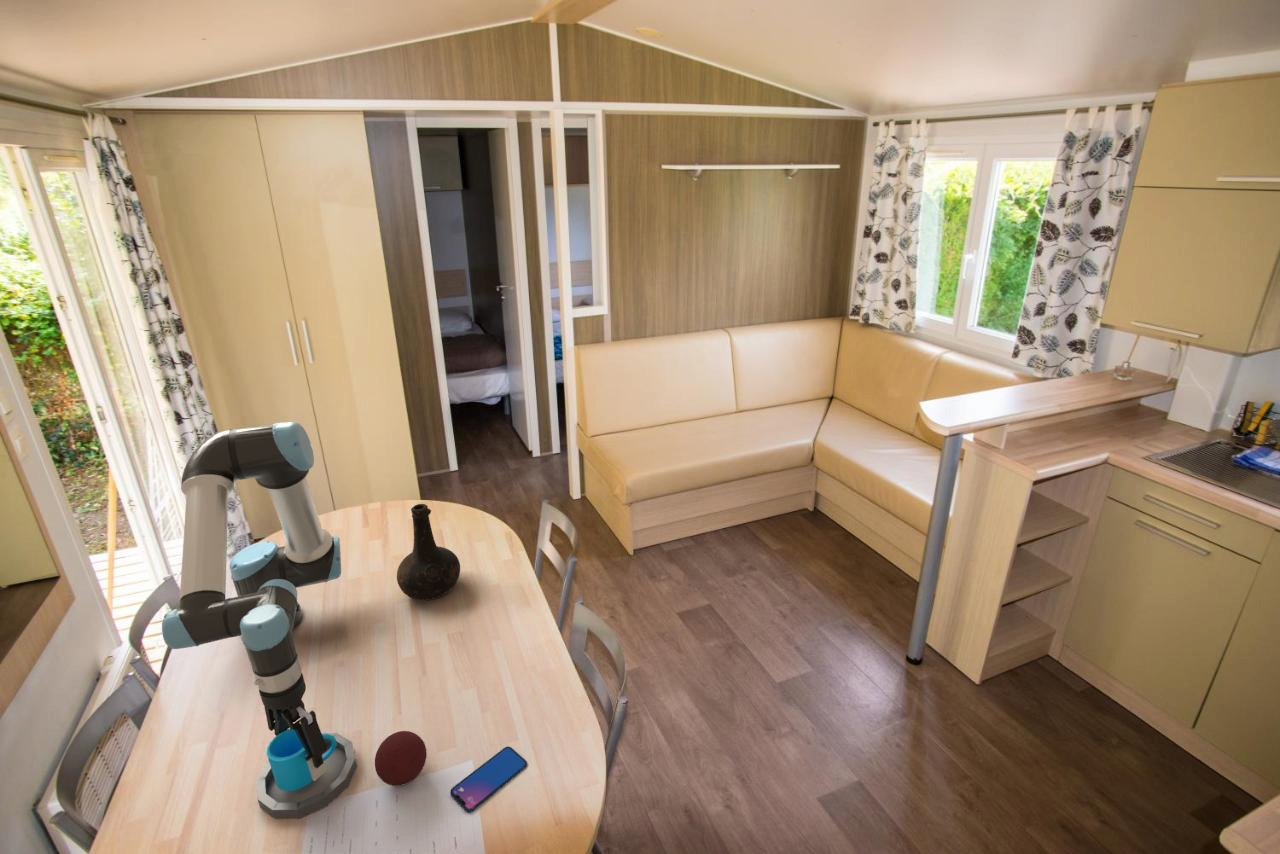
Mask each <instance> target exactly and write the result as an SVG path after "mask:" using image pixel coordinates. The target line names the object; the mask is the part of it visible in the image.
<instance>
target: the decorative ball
mask: <svg viewBox="0 0 1280 854" xmlns="http://www.w3.org/2000/svg"><path fill="white" fill-rule="evenodd" d="M427 755H428V754H427V747H426V744H425V741H424V740H423V738H422V737H421V736H420V735H419V734H417V733H415V732H414V731H413V732H412V731H409V730H408V731H407V730H400V731H396V732H393V733H392V734H389V736H386V738H385V739H384V740H382V742H381V743H380V744H379V746H378V748H377V750H376V753H375V756H374V757H375V758H374V768H375V772H376V774H377V776H378V778H379V779H380V781H382V782H383V783H385V784H387V785H390V786H393V787H398V786H399V787H400V786H404V785H407V784H409V783H411V782H412V781H414V780H415V779H416V778H417V777H418V776H419V775H420V774H421V772H422V771H423V769H424V767H425V765H426V761H427V757H428V756H427Z"/></svg>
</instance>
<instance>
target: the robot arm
mask: <svg viewBox="0 0 1280 854" xmlns="http://www.w3.org/2000/svg"><path fill="white" fill-rule="evenodd" d="M314 457H315V456H314V450H313V448H312V446H311V440H310V438H309V436H308V433H307V432H306V429H305V428H304V427H303V425H301V424H300V423H298V422H295V421H294V422H293V421H289V422H287V421H286V422H280V421H279V422H278V421H277V422H275V423H271V424H265V425H263V424H262V425H256V426H249V427H241V428H235V429H233V428H232V429H231V428H229V429H226V430H222V431H219V432H217V433H214V434H212V435H211V436H209V437H207V438H206V439H205V440H204V441H203V442H201V443H200V445H198V446H197V447H196V449H195V450H194V451H193V453H192V454H191V455H190V457H189V458H188V461H187V462H186V464H185V466H184V468H183V469H184V470H183V472H182V475H181V482H180V483H181V484H180V485H181V486H180V489H181V490H180V491H181V492H182V493H183V494H184V495H185V497H186V499H185V512H184V514H185V515H184V528H183V541H182V542H183V544H182V557H181V559H182V560H181V572H180V574H181V575H180V587H179V588H180V589H179V590H180V591H179V606H178V608H175V609H172V610H168V611H167V612H166V613H165V614H164V616H163V619H162V622H161V633H162V637H163V640H164V643H165V644H166V646H168V647H169V648H170V649H172V650H180V649H186V648H193V647H199V646H201V645H204V644H208V643H213V642H217V641H221V640H226V639H229V638H236V637H240V638H241V641H242V643H243V645H244V647H245V651H246V654H247V657H248V660H249V662H250V666H251V668H252V672H253V675H254V677H255V680H254V681H253V683H254V684H255V686H257V687H258V692H259V695H260V699H261V701H262V705H263V706H264V710H265V716H266V723H267V727H268V730H270V731H274V732H273V733H274V735H275V737H276V736H277V735H279V734H280V733H281V732H283V731H285V730H287V729H293V730H295V732H296V734H297V736H298V738H299V740H300V741H301V743H302V745H303V747H304V749H305V751H306V753H307V755H306V757H305V760H306V761H307V763H308V767H309V770H310V773H311V777H312V780H313V781H315V780H317V779H318V778H319V777H320V776H321V775H322V774H323V773H325V772H326V767H325V764H324V760H323V757H322V754H324V753H325V752H326V751H327V750H328V749H327V746H326V743H325V741H324V738H323V736H322V733H323V732H322V731H321V728H320V725H319V724H318V720H317V715H316V711H314V710H311V711H309V712H308V711H307V710H306V708H305V707H306V706H305V702H303V700H302V699H303V697H304V695H305V692H306V688H307V685H306V682H305V678H304V674H303V671H302V666H301V663H300V659H299V656H298V653H297V649H296V646H295V642H294V637H293V631H294V628H295V627H296V626H298V625H299V623H300V622H301V620H302V618H303V610H302V607H301V605H300V603H299V601H298V590H297V588H298V589H299V588H302V587H306V586H308V587H309V586H312V585H317V584H322V583H328V582H330V581H334V580H338V578H340V577H341V575H342V558H341V555H342V554H341V541H340V540H341V539H340V537H339V536H333V535H331V532H329V531H327V530H326V529H324V528H323V527H322V523H321V521H320V518H319V517H320V516H319V514H318V511H317V509H316V506H315V505H316V504H315V502H314V500H313V499H314V498H313V496H312V493H311V490H310V485H309V483H308V479H307V477H308V475H309V472H310V470H311V469H312V468H313V467H314V465H315V464H314V463H315V458H314ZM253 478H255V481H256V483H257V485H258V486H259V487H261V488H263V489H265V490H267V492H268V495H269V497H270V499H271V502H272V505H273V508H274V510H275V513H276V515H277V519H278V521H279V522H280V525H281V528H282V531H283V534H284V535H285V538H286V542H285V545H283V546H278V544H277V543H276V542H274V541H269V540H268V541H267V540H264V541H260V542H256V543H252V544H250V545H248V546H246V547H245V548H243V549H241V550H240V551H237V553H235V554H234V556H232V558H231V560H230V561H229V565H228V566H229V570H230V579H231V580H232V582H233V586H234V589H235V591H236V595H237V596H234V597H229V598H226V592H227V591H226V585H227V583H226V582H227V581H226V580H227V556H228V555H227V549H228V548H227V547H228V546H227V545H228V544H227V543H228V518H229V517H228V514H229V513H228V512H229V495H230V494H232V492H233V491H234V489H235V482H236V481H238V480H248V479H253Z"/></svg>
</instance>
